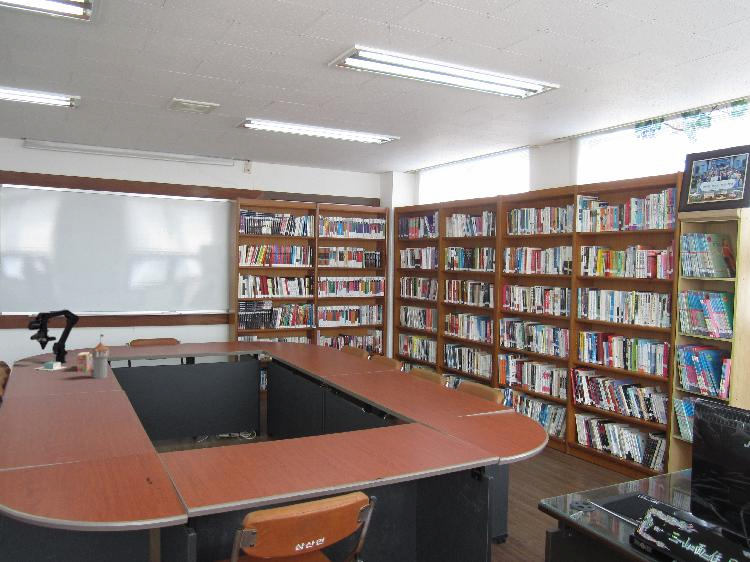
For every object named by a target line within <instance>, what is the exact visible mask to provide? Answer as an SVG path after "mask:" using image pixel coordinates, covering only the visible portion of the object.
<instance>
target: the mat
mask: <svg viewBox="0 0 750 562" xmlns="http://www.w3.org/2000/svg"><path fill="white" fill-rule="evenodd" d="M35 369H39V371H47V370H48V371H49V372H50V371H51V372H52V371H53V370H54V371H57V370H62V369H67V366H61V368H56V369H45V368H44V366H40V367H35V368H34V370H35Z"/></svg>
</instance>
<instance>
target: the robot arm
mask: <svg viewBox="0 0 750 562" xmlns="http://www.w3.org/2000/svg"><path fill="white" fill-rule="evenodd" d="M60 316H63V317H65V318H66V324H65V327H64V328H63V330H62V334H61V335H60V338H59V339H58V341H57V337H56V336H54V335H53V336H50V335H48V333H49V331H50V330H49V329H48V324H50V323H51V321H50V319H52V318H54V317H60ZM79 320H80V317H79V315H77V314H75V313H73V312H72V311H71V310H69V309H61V310H55V311H49V312H45V311H44V312H41V311H40V312H38V313H37V316H36V318H35V319H33V320H30V321H29V323H28V324H27V329H28V330H29V331H37V332H35V333H34V334H32V335H31V336H30V337H29V338H30V341H36V342H38V343H39V345H40V348H41V350H42V351H43V350H44V351H45V348H46V347H47V345H48V343H49V342H53V341H57V342H54V343H53V345H52V347H51V348H52V350H51V351H52V352H53V353H54V355H55V362H61V364H65V363H68V361H66V356H67V355H68V351H67V350H66V342H67V341H68V338H69V336H70V334H71V331H72V330H73V327H74V326H76V324H77V323H78V322H79Z"/></svg>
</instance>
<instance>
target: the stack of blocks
mask: <svg viewBox="0 0 750 562" xmlns="http://www.w3.org/2000/svg"><path fill="white" fill-rule="evenodd" d="M76 360H77V361H76V362H77V363H76V364H77V365H76V366H77V369H76V371H77V372H82V373H83V372H87V371H90V369H91V368H92V367H93V357H92V353H90V351H86V352H85V351H84V352H83V351H82V352H79V353H78V354H77V358H76Z"/></svg>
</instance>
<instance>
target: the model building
mask: <svg viewBox="0 0 750 562" xmlns="http://www.w3.org/2000/svg"><path fill="white" fill-rule="evenodd" d="M104 336H105V334H100V339H99V340H100V342H99V343H98V344H97V345H96V346H95V347H93V348H92V350H91V354H92V361H93V368H92V369H91V370H89V372H90V378H93V379H106V378H108V357H109V355H110V347H108V346H105V345H104V344H103V343H102V341H101V339H102V338H103V337H104Z"/></svg>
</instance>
